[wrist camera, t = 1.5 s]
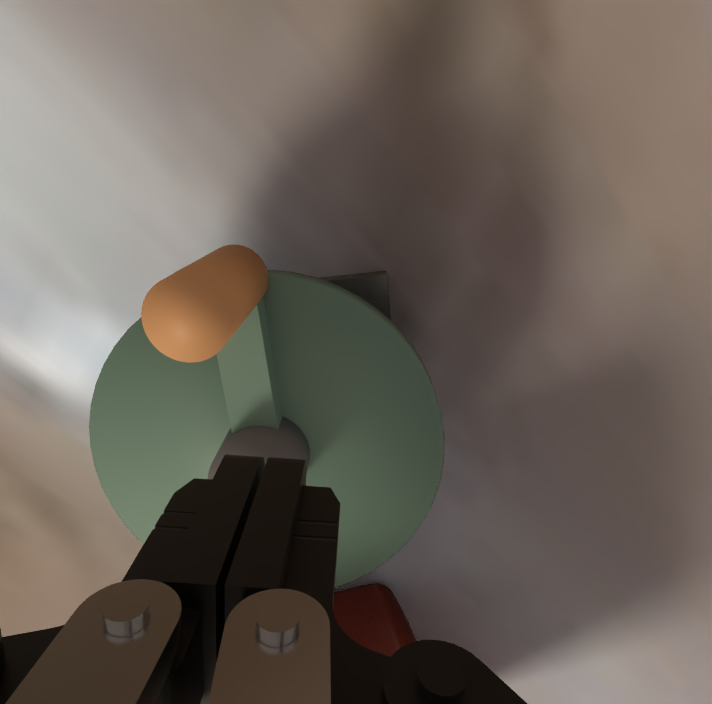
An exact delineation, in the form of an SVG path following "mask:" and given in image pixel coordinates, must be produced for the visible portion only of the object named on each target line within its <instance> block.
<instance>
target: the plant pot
mask: <svg viewBox="0 0 712 704" xmlns="http://www.w3.org/2000/svg"><path fill="white" fill-rule="evenodd" d="M333 612H334V616H335V618H336V621H337V623H338V624H339V626H340V627H341V629H342V630H343V631H344V632H345V633H346V634H347V635H348V636H349V637H350V638H351V639H352V640H354V641H355V642H357V643H358V644H360V645H362V646H363V647H366V648H368V649H370V650H373V651H375V652H378V653H381V654H384V655H386V656H389V657H391V656H392V655H393V654H394V653H395V652H396V651H397V650H398V649H400V648H401V647H403V646H405V645H407V644H409V643H412V642H416V639H415V637H414V635H413V632H412V630H411V628H410V626H409V623H408V621H407V619H406V617H405V615H404V613H403V611H402V609H401V607H400V605H399V603H398V601H397V600H396V598H395V596H394V595H393V593H392V592H391V590H390V589H389V588H388V587H386V586H385V585H382V584H372V585H367V586H362V587H358V588H354V589H350V590H345V591H341V592H336V593H334V603H333Z"/></svg>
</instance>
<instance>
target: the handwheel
mask: <svg viewBox="0 0 712 704" xmlns="http://www.w3.org/2000/svg"><path fill="white" fill-rule="evenodd" d="M89 430H90V446H91V451H92V456H93V461H94V466H95V469H96V472H97V475H98V478H99V480H100V483H101V486H102V488H103V490H104V492H105V494H106V496H107V498H108V500H109V502H110V504H111V506H112V507H113V509H114V510H115V512H116V513H117V515H118V516H119V517H120V519H121V520H122V522H123V523H124V524H125V526H126V527H127V528H128V529H129V530H130V531H131V532H132V533H133V535H134V536H135V537H136V538H137V539H138V540H139V541H140V542H141V543H142V544H143V545H144V543H145V541H146V540H147V538H148V536H149V535H150V533H151V531H152V530H153V529H155V525H156V523H157V521H158V519H159V518H160V516H161V514H163V513H164V509H165V508H166V506H167V504H168V503H169V501H170V499H171V497H172V496H173V494H174V493H175V492H176V491H177V490H179V489H180V488H181V487H183V486H184V485H186V484H187V483H188V482H190V481H191V480H193V479H194V478H198V479H213V477H214V475H215V473H216V471H217V469H218V467H219V465H220V463H221V461H222V459H223V457H224V456H225V455H226V454H228V455H243V456H257V457H264V460H265V465H266V462H267V459H268V458H269V457H274V458H288V459H303V460H306V466H307V467H306V486H317V487H331V489H332V490H333V492H334V494H335V496H336V497H337V499H338V501H339V502H340V518H339V533H338V548H337V563H336V577H335V587H338V586H341V585H343V584H346V583H349V582H352V581H354V580H356V579H358V578H360V577H361V576H363V575H365V574H367V573H369V572H371V571H372V570H374V569H375V568H377V567H378V566H380V565H381V564H383V563H384V562H386V561H387V560H388V559H389V558H391V557H392V556H393V555H394V554H395V553H396V552H397V551H399V550H400V549H401V548H402V547H403V546H404V545H405V544H406V542H407V541H408V540H409V539H410V538H411V537H412V536H413V534H414V533H415V532H416V530H417V529H418V527H419V526H420V524H421V523H422V521H423V520H424V518H425V517H426V515H427V513H428V511H429V509H430V507H431V505H432V502H433V500H434V498H435V496H436V492H437V489H438V486H439V483H440V479H441V474H442V468H443V461H444V432H443V424H442V417H441V413H440V409H439V406H438V403H437V399H436V396H435V392H434V389H433V386H432V382H431V379H430V377H429V375H428V373H427V371H426V368H425V366H424V364H423V362H422V360H421V358H420V357H419V355H418V354H417V352H416V351H415V349H414V347H413V346H412V344H411V343H410V341H409V340H408V339H407V338H406V337H405V336H404V334H403V333H402V332H401V331H400V330H399V328H398V327H397V326H396V325H395V324H394V323H393V322H392V321H391V320H389V319H388V318H387V317H386V316H385V315H384V314H383V313H382V312H381V311H380V310H378V309H377V308H375V307H374V306H373V305H371V304H370V303H368V302H367V301H365V300H364V299H362V298H361V297H360V296H358V295H356V294H354V293H352V292H350V291H348V290H346V289H344V288H342V287H340V286H338V285H336V284H333V283H330V282H327V281H324V280H322V279H319V278H316V277H312V276H308V275H303V274H299V273H294V272H286V271H275V270H267V268H266V266H265V264H264V262H263V260H262V259H261V258H260V257H259V255H258V254H256V253H255V252H254V251H252V250H251V249H249V248H247V247H244V246H240V245H227V246H223V247H221V248H219V249H217V250H215V251H213V252H212V253H210V254H208V255H206V256H204V257H203V258H201V259H199V260H197V261H195V262H194V263H192V264H190V265H188V266H186V267H185V268H183V269H181V270H179V271H177V272H176V273H174V274H172V275H170V276H169V277H167V278H165V279H163V280H161V281H160V282H158V283H157V284H155V285H154V286H153V287H152V288H151V289H150V291H149V292H148V293H147V295H146V297H145V299H144V302H143V305H142V312H141V318H140V319H139V320H138V321H137V322H136V323H135V324H133V325H132V326H131V327H130V328H129V329H128V330H127V332H126V333H125V334H124V335H123V336H122V338H121V339H120V340H119V341H118V343H117V344H116V345H115V346H114V348H113V350H112V352H111V353H110V355H109V357H108V358H107V360H106V362H105V363H104V365H103V368H102V370H101V373H100V375H99V378H98V380H97V383H96V386H95V390H94V394H93V398H92V403H91V410H90V423H89Z"/></svg>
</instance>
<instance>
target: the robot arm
mask: <svg viewBox="0 0 712 704" xmlns="http://www.w3.org/2000/svg"><path fill="white" fill-rule="evenodd" d="M306 467H307V466H306V460H303V459H288V458H274V457H269V458H268V459H267V462H266V465H265V460H264V457H257V456H243V455H228V454H226V455H225V456H224V457H223V459H222V461H221V463H220V465H219V467H218V469H217V471H216V473H215V475H214V477H213V479H198V478H194V479H193V480H191V481H190V482H188V483H187V484H186V485H184V486H183V487H181V488H180V489H179V490H177V491H176V492H175V493H174V494H173V496H172V497H171V499H170V501H169V503H168V504H167V506H166V508H165V509H164V513H163V514H161V516H160V518H159V519H158V521H157V523H156V525H155V529H153V530H152V531H151V533H150V535H149V536H148V538H147V540H146V541H145V543H144V545H143V547H142V548H141V550H140V552H139V553H138V555H137V557H136V558H135V560H134V562H133V564H132V565H131V567H130V569H129V570H128V572H127V574H126V575H125V577H124V579H123V580H122V582H119V583H115V584H112V585H110V586H107V587H105V588H103V589H101V590H99V591H97V592H96V593H94V594H93V595H91V596H90V597H88V598H87V599H86V600H85V601H84V602H83V603H82V604H81V605H80V606H79V607H78V608H77V609H76V611H75V612H74V613H73V615H72V616H71V617H70V619H69V620H68V621H67V622H66V624H65V625H62V626H59V627H54V628H50V629H45V630H39V631H34V632H28V633H23V634H17V635H12V636H6V637H2V636H1V630H0V704H527V703H526V702H525V701H524V700H523V699H522V698H521V697H519V696H518V695H517V694H516V693H515V692H514V691H513V690H512V689H511V688H510V687H509V686H507V685H506V684H505V683H504V682H503V681H502V680H501V679H500V678H499V677H498V676H497V675H495V674H494V673H493V672H492V671H491V670H490V669H489V668H488V667H487V666H486V665H485V664H483V663H482V662H481V661H480V660H479V659H478V658H477V657H475V656H474V655H473V654H472V653H470V652H468V651H467V650H465V649H463V648H461V647H459V646H457V645H455V644H451V643H448V642H444V641H438V640H421V641H416V642H412V643H409V644H407V645H405V646H403V647H401V648H400V649H398V650H397V651H396V652H395V653H394V654H393V655H392V656H391V657H389V656H386V655H384V654H381V653H378V652H375V651H373V650H370V649H368V648H366V647H363V646H362V645H360V644H358V643H357V642H355V641H354V640H352V639H351V638H350V637H349V636H348V635H347V634H346V633H345V632H344V631H343V630H342V629H341V627H340V626H339V624H338V623H337V621H336V618H335V616H334V612H333V603H334V590H335V577H336V563H337V548H338V533H339V518H340V502H339V501H338V499H337V497H336V496H335V494H334V492H333V490H332V489H331V487H317V486H306Z"/></svg>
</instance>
